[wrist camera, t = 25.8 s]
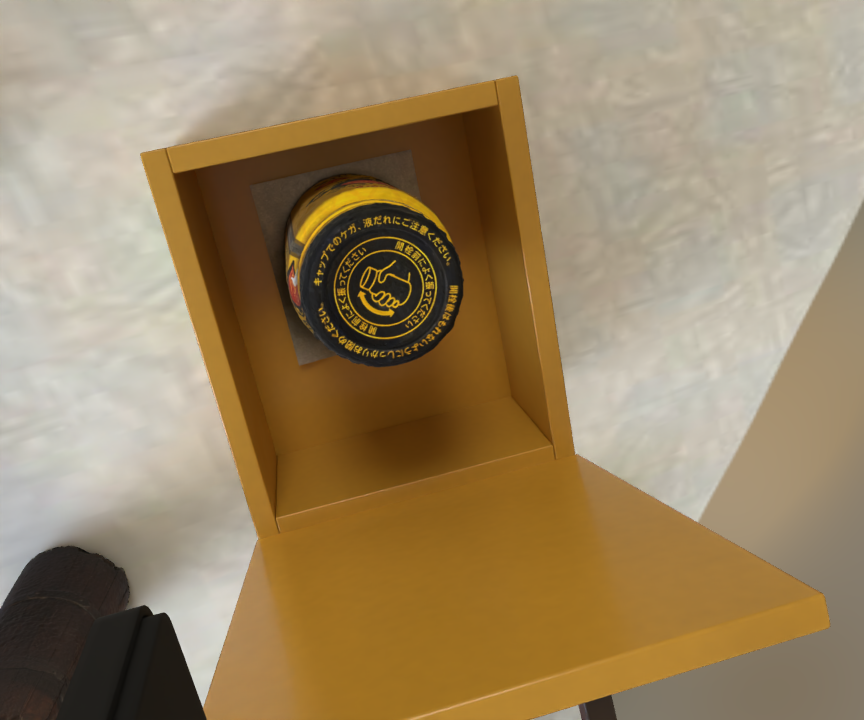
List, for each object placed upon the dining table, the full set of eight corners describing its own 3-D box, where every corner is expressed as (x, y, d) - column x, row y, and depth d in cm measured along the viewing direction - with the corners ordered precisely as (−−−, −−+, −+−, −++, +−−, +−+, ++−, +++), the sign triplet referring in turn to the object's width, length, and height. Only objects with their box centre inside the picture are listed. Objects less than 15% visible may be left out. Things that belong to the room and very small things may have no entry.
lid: (175, 789, 15) (245, 1040, 15) (826, 593, 16) (871, 826, 17) (256, 539, 31) (289, 664, 32) (577, 453, 33) (604, 573, 33)
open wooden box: (169, 148, 34) (139, 153, 27) (472, 85, 35) (518, 74, 28) (263, 468, 39) (259, 543, 32) (525, 401, 40) (576, 458, 33)
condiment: (410, 149, 35) (471, 158, 23) (446, 326, 37) (517, 412, 26) (249, 184, 34) (232, 212, 23) (298, 363, 37) (305, 468, 25)
